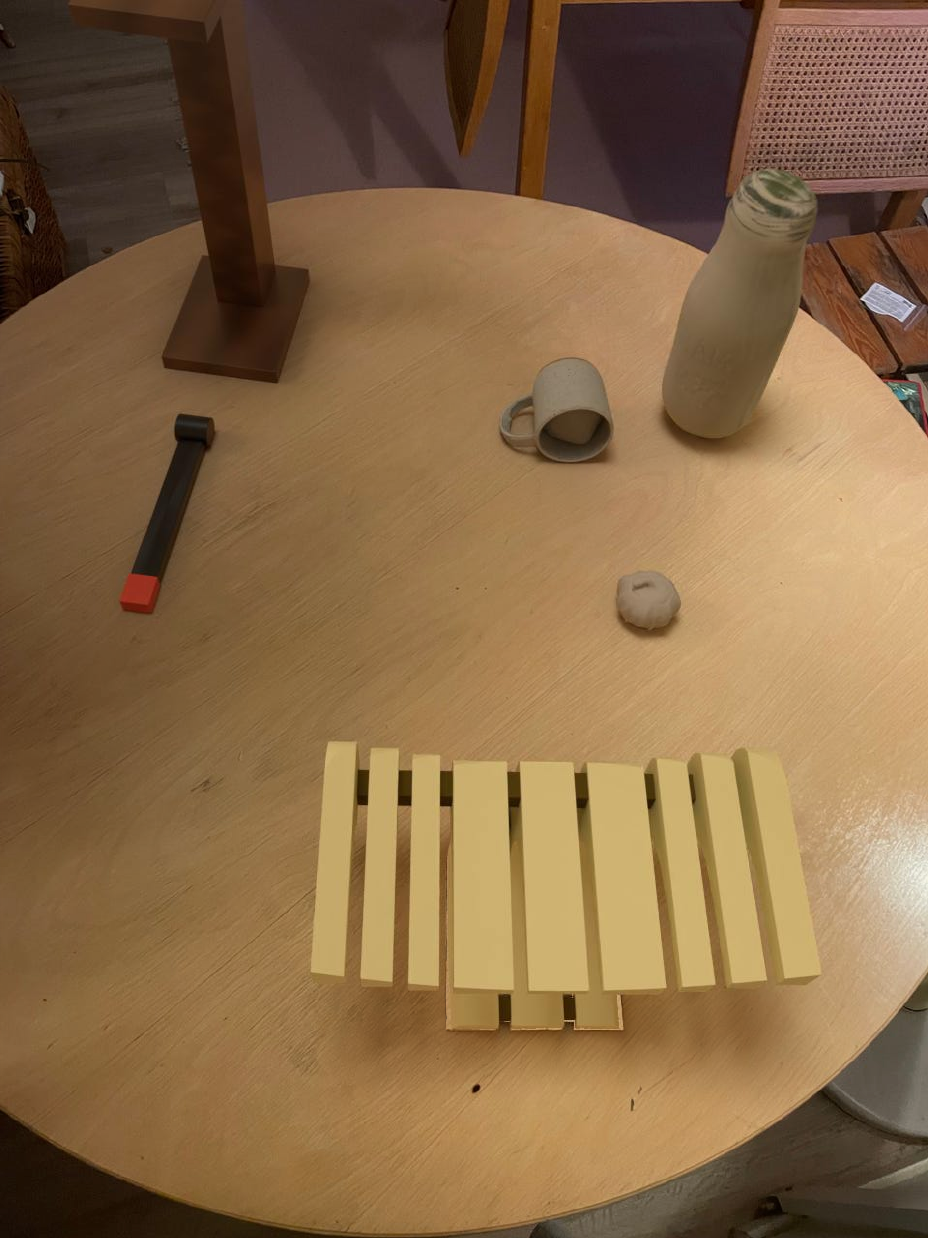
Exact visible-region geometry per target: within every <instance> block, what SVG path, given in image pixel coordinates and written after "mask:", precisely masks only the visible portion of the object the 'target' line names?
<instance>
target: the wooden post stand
mask: <svg viewBox="0 0 928 1238" xmlns="http://www.w3.org/2000/svg"><path fill="white" fill-rule="evenodd" d="M67 6H68V9H69V14H70V17H71V21H72V25H73V27H76V28H77V27H78V28H84V29H85V28H86V29H93V30H100V31H108V32H116V33H125V34H130V35H131V34H132V35H138V36H139V35H140V36H147V37H155V38H163V39H166V41H167V45H168V52H169V56H170V62H171V67H172V72H173V77H174V82H175V88H176V93H177V99H178V103H179V108H180V109H179V110H180V114H181V119H182V124H183V129H184V134H185V139H186V145H187V150H188V156H189V160H190V166H191V171H192V177H193V181H194V186H195V187H194V188H195V192H196V198H197V203H198V208H199V213H200V218H201V219H200V220H201V223H202V228H203V235H204V239H205V246H206V250H207V255H206V254H202V255H201V258H200V260H199V262H198V265H197V268H196V270H195V272H194V274H193V277H192V280H191V283H190V284H189V286H188V287H189V288H188V290H187V292H186V293H185V297H184V299H183V302H182V304H181V307H180V310H179V312H178V315H177V317H176V320H175V322H174V324H173V326H172V329H171V331H170V335H169V337H168V339H167V342H166V344H165V347H164V349H163V352H162V354H161V356H160V357H161V360H162V364H163V367H164V368H165V369H170V370H171V369H172V370H180V371H185V372H186V371H187V372H194V373H201V374H207V375H215V376H223V377H230V378H237V379H238V378H239V379H244V380H245V379H246V380H254V381H261V382H267V383H274V384H277V383H278V382H279V380H280V376H281V372H282V369H283V366H284V363H285V360H286V356H287V353H288V351H289V348H290V344H291V341H292V338H293V334H294V331H295V329H296V326H297V322H298V319H299V315H300V312H301V309H302V306H303V303H304V299H305V296H306V293H307V290H308V288H309V284H310V279H311V278H310V269H309V268H303V267H295V266H289V265H280V264H276V263H275V255H274V250H273V249H274V247H273V241H272V234H271V225H270V217H269V209H268V201H267V200H268V199H267V194H266V186H265V179H264V170H263V164H262V163H263V162H262V152H261V146H260V138H259V131H258V123H257V121H258V120H257V114H256V107H255V100H254V90H253V82H252V74H251V67H250V59H249V52H248V44H247V42H248V41H247V35H246V27H245V19H244V12H243V4H242V0H69V2H68V3H67Z"/></svg>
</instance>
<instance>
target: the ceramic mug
mask: <svg viewBox="0 0 928 1238" xmlns="http://www.w3.org/2000/svg"><path fill="white" fill-rule="evenodd" d="M530 407H532V408H533V428H534V431H533V433H532V434H523V435H520V434H512V433H511V431H510V430H511V429H510V428H511V424H512V422H513V418H514V417H515V416H516V414H518V413H519V412H521V411H524V410H525V409H527V408H530ZM499 429H500V433H501V434H502V436H503V438H504V439H505V441H506V442H507V443H508V444H509V445H511V446H513V447H516V448H531V447H532V448H533V447H536V448H537V449H538V450H539V452H540V453H541V454H542V455H544V456H545V457H547V458H548V459H551V460H553V461H556V462H560V463H578V462H582V461H586V460H589V459H591V458H593V457H596V456H598V455H599V454H601V453H602V452H603V451H604V450H605V449H606V448H607V447H608V445H609V444H610V442H611V441H612V439H613V435H614V429H615V426H614V422H613V417H612V412H611V408H610V403H609V400H608V396H607V390H606V386H605V383H604V379H603V376H602V375H601V373H600V371H599V369H598V368H597V367H596V366H595V365H594V364H593V363H592V362H591V361H589V360H587V359H584V358H580V357H575V356H574V357H572V356H571V357H569V356H567V357H562V358H558V359H555V360H553V361H551V362H549V363H546V364H545V366H543V367H542V368H541V369H540V370H539V371H538V373H537V374H536V377H535V379H534V382H533V387H532V393H529V394H526V395H522V396H519V397H518V398H516V399H514V400H512V401H511V402H509V404H507V406H506V407H505V408H504V410H503V411H502V413H501V415H500V418H499Z"/></svg>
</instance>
